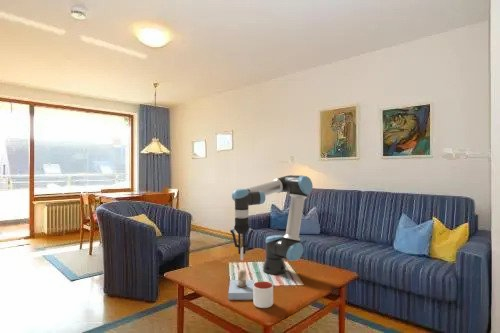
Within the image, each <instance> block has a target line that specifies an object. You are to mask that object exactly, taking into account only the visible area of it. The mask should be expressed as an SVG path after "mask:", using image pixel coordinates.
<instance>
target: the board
mask: <svg viewBox="0 0 500 333" xmlns="http://www.w3.org/2000/svg"><path fill="white" fill-rule="evenodd" d="M254 283H255V279H246V287H245V288H239V287H238V279H232V280H229V288H228V295H227V296H228V298H227V299H228V300H230V301H231V300H236V301H237V300H238V301H239V300H241V301H245V300H246V301H248V300H253V285H254Z"/></svg>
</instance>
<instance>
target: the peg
mask: <svg viewBox="0 0 500 333" xmlns="http://www.w3.org/2000/svg"><path fill="white" fill-rule="evenodd" d="M237 272H238V273H237V274H238V276H237V277H238V278H237V280H238V287H239V288H245V287H246V280H247V278H246V277H247V274H246V273H247V270H246V269H238V271H237Z"/></svg>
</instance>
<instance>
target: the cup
mask: <svg viewBox="0 0 500 333" xmlns="http://www.w3.org/2000/svg"><path fill="white" fill-rule="evenodd" d="M252 300H253V302H252V303H253V305H254V306H255V307H256V308H259V309H268V308H270V307H272V306H273V304H274V284H273V283H272V282H269V281H266V280H265V281H257V282H254V285H253V299H252Z"/></svg>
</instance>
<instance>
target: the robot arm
mask: <svg viewBox="0 0 500 333" xmlns="http://www.w3.org/2000/svg"><path fill="white" fill-rule="evenodd" d="M312 181H313V180H312V179H311V178H310V177H308V176H307V175H293V174H290V175H285V176H281V177H278V178H274V179H273V180H272V181H270V182H266V183H262V184H259V185H255V186H254V185H253V186H252V187H249V188H238V189H235V190H234V191H233V192H232V193H231V194H232V195H231V199H232V200H233V202H234V226H233V228H231V229H230V233H231V235H232V240H233V242H234V243H233V244H234V247H235V248H237V249H238V250H237V251H238V252H237V253H238V254H239V255H240V261H244V255H246V248H249V247H250V246H249V245H250V241H251V236H252V234H253V233H254V229H253V228H251V227H250V226H249V219H250V218H249V206H255V205H256V206H257V205H258V206H259V205H263V204H264V203H265V202H266V196H269V195H272V194H274V193H276V194H280V193H289V196H290V202H289V203H290V204H289V211H288V216H287V222H286V229H285V234H284V235H278V234H277V235H276V234H275V235H268V236H267V237H266V238H265V260H264V264H263V267H262V270H263V272H264V273H266V274H269V275H281V274H282V275H283V274H284V273H286V272H287V267H286V263H285V261H284V259H285V260H287V261H292V262H297V261H298V260H299V259H301V257H302V256H303V253H304V246H303V244H302V243H301V241H302V240H301V238H300V231H301V225H302V218H303V210H304V205H305V200H306V199H307V198H308V195H310V194H311V193H312V191H313V188H314V187H313V182H312ZM235 232H236V233H237V238H236V235H235V234H236V233H235ZM247 232H248V236H247V241H246V234H247ZM241 236H242V239H241ZM241 240H242V242H241ZM241 243H242V244H241ZM241 246H242V247H241Z"/></svg>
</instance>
